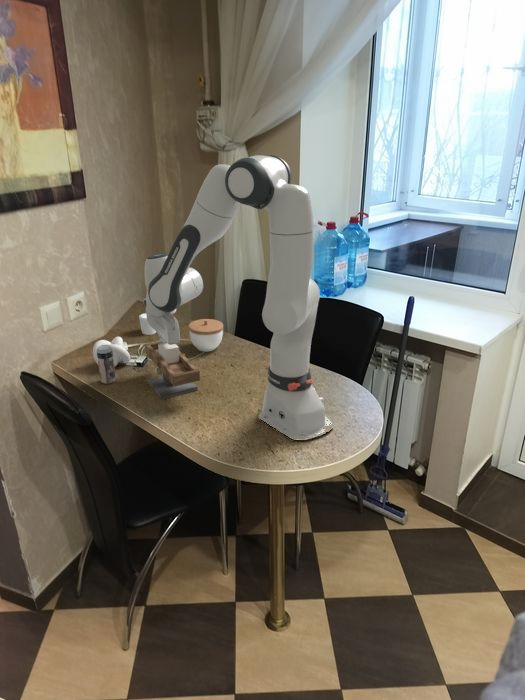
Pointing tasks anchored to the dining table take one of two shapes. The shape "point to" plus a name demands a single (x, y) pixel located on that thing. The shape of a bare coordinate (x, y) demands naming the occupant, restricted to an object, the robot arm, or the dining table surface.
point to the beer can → (106, 364)
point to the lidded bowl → (206, 334)
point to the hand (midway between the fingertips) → (164, 346)
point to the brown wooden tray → (172, 374)
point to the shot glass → (145, 325)
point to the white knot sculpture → (113, 350)
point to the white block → (169, 352)
